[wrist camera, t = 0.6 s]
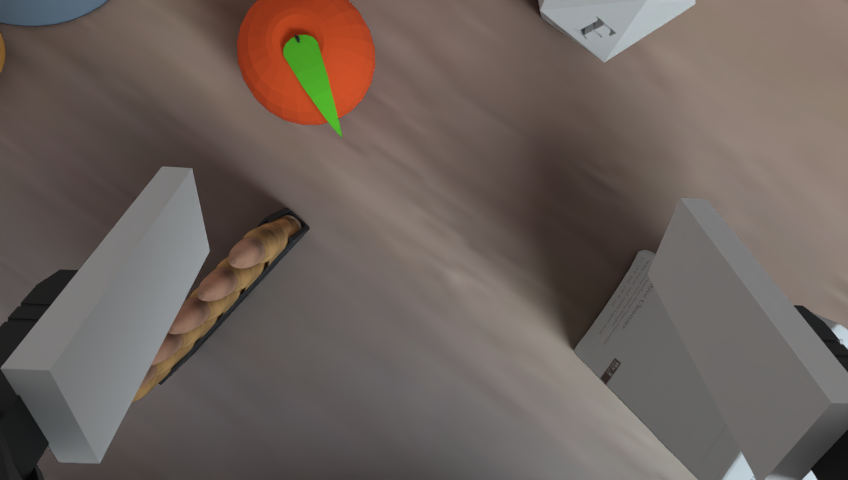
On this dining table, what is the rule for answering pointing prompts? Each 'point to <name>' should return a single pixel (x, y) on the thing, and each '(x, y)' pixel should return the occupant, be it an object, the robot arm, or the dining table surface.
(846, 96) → the dining table surface
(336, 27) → the clementine
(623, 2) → the die
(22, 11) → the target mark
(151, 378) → the ammunition clip
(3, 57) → the orange ball
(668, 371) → the skincare box
